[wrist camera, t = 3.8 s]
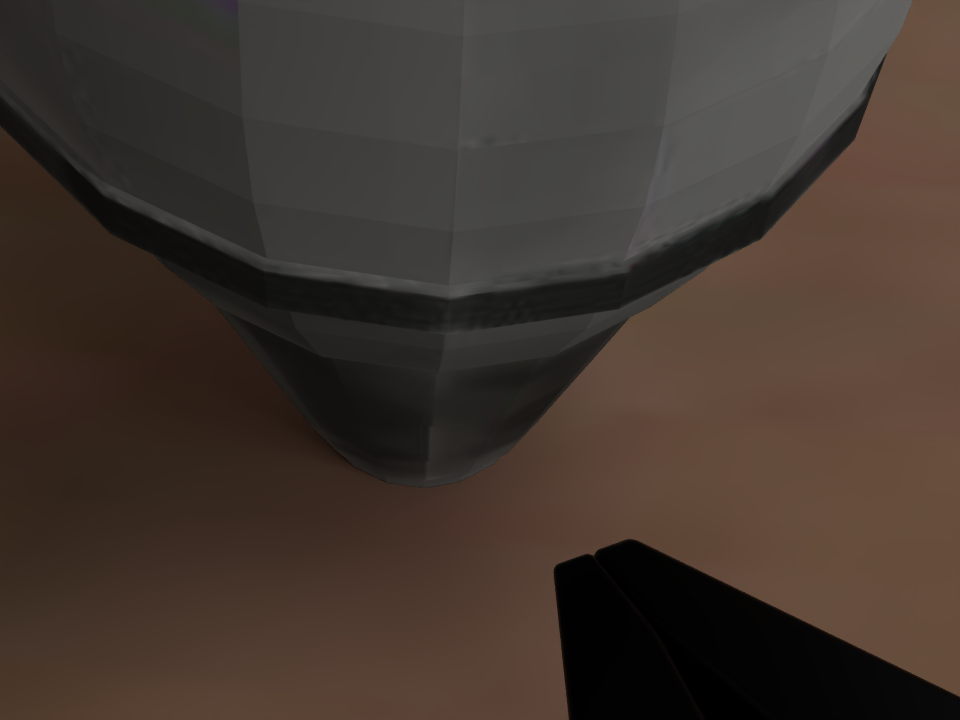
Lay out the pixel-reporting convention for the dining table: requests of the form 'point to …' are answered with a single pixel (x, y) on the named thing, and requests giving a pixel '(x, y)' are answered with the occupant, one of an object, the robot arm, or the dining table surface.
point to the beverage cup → (436, 178)
